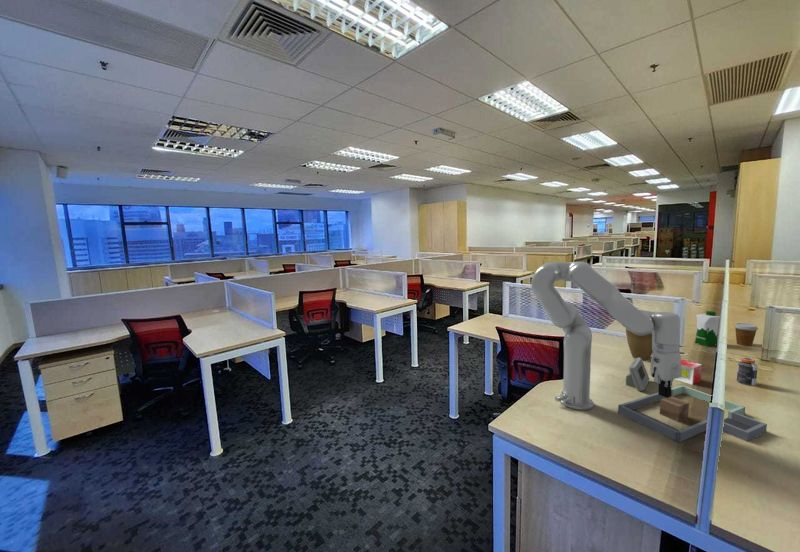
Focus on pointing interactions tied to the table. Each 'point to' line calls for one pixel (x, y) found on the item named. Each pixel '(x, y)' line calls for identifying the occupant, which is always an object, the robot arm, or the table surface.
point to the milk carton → (707, 328)
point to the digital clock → (637, 375)
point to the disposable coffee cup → (745, 333)
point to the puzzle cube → (690, 372)
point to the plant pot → (640, 345)
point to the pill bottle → (747, 371)
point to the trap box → (732, 425)
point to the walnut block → (674, 408)
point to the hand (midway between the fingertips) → (664, 395)
